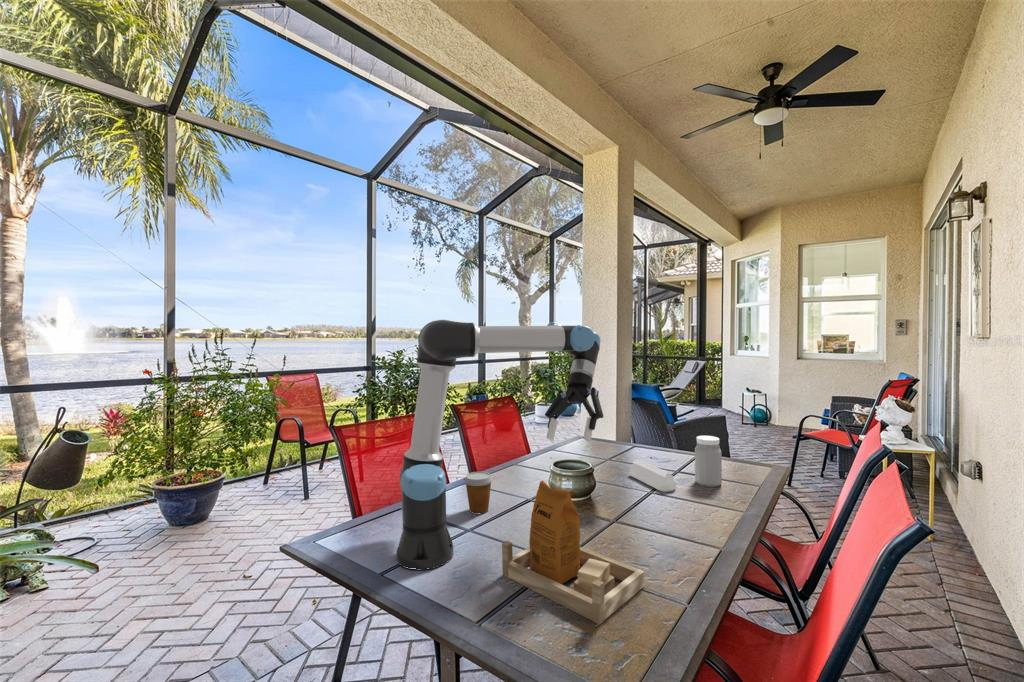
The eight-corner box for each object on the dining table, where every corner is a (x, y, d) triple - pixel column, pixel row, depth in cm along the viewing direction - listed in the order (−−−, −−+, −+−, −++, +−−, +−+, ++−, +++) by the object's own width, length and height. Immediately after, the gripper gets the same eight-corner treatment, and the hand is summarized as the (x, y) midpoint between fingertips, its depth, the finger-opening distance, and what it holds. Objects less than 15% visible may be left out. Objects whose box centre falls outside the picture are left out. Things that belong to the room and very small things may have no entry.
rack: (599, 624, 93) (599, 586, 92) (502, 575, 112) (502, 543, 112) (645, 586, 106) (644, 552, 106) (551, 548, 126) (551, 519, 126)
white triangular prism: (622, 466, 189) (659, 484, 166) (635, 456, 191) (673, 472, 168) (630, 480, 190) (667, 500, 168) (643, 470, 192) (681, 488, 170)
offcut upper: (599, 590, 100) (599, 577, 100) (578, 584, 103) (578, 571, 103) (609, 576, 106) (609, 563, 106) (589, 570, 109) (589, 558, 109)
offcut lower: (596, 605, 100) (596, 591, 100) (573, 594, 104) (573, 582, 104) (614, 589, 106) (614, 577, 106) (593, 580, 110) (592, 568, 110)
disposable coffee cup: (480, 518, 147) (479, 481, 147) (459, 512, 153) (458, 476, 153) (498, 509, 155) (498, 474, 155) (477, 503, 161) (477, 469, 160)
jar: (689, 481, 179) (688, 436, 179) (707, 478, 184) (706, 434, 183) (709, 489, 171) (709, 441, 170) (727, 485, 175) (727, 438, 174)
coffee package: (553, 556, 121) (552, 475, 121) (586, 576, 111) (584, 487, 111) (523, 568, 115) (522, 482, 115) (555, 590, 105) (553, 496, 105)
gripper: (621, 378, 139) (610, 445, 129) (557, 383, 156) (542, 442, 146) (609, 367, 134) (596, 435, 125) (544, 373, 151) (528, 434, 142)
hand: (567, 439), depth 136 cm, fingers open, 13 cm apart
